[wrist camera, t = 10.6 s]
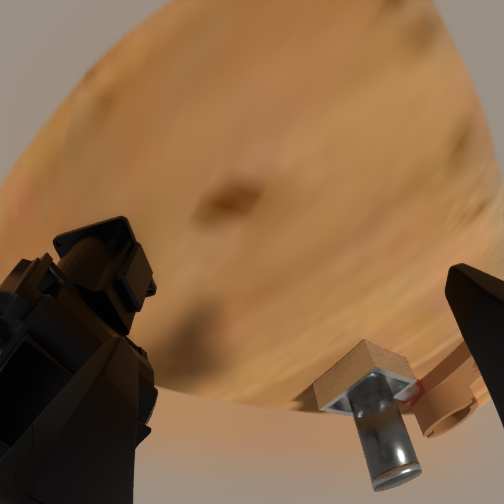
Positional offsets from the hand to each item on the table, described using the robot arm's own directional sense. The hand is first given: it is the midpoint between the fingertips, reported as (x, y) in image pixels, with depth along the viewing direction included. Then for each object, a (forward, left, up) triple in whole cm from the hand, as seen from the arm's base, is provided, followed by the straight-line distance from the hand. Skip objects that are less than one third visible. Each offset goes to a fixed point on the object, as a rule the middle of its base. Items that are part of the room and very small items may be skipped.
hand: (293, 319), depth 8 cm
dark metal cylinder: (+7, -23, -11) cm, 26 cm away
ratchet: (+11, -27, -13) cm, 31 cm away
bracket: (+22, -29, -14) cm, 39 cm away
